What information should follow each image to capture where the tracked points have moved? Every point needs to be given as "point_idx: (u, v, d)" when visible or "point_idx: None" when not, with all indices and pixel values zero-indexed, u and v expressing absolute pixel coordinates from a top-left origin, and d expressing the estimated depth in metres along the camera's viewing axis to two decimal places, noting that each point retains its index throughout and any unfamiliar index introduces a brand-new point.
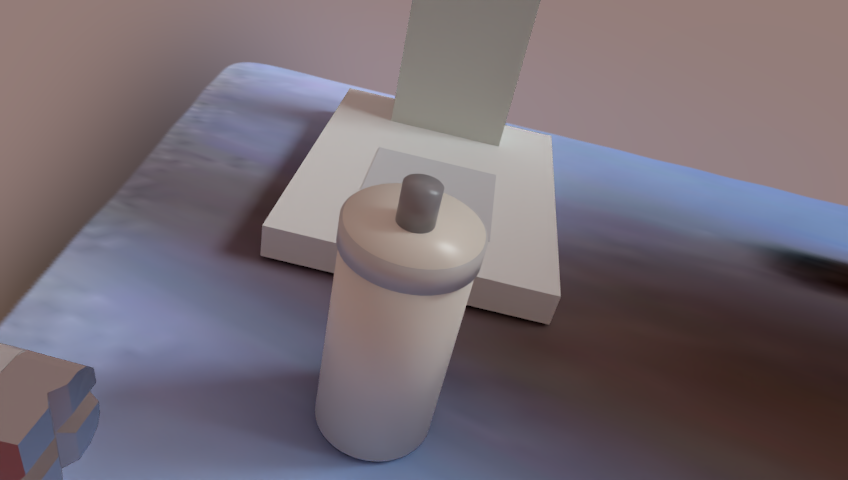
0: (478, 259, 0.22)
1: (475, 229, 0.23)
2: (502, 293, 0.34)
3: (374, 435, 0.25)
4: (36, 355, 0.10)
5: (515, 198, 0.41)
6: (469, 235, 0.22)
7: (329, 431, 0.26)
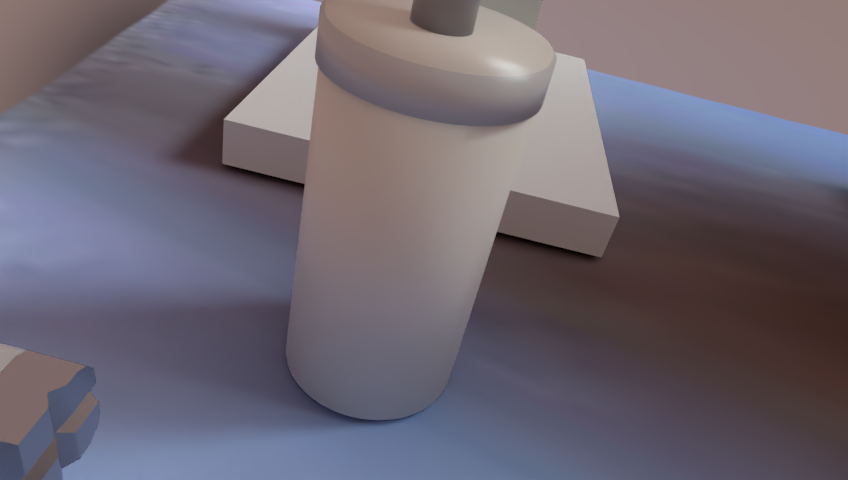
0: (545, 74, 0.13)
1: (535, 42, 0.14)
2: (541, 213, 0.26)
3: (372, 377, 0.17)
4: (36, 355, 0.10)
5: (549, 113, 0.33)
6: (527, 46, 0.14)
7: (305, 375, 0.18)
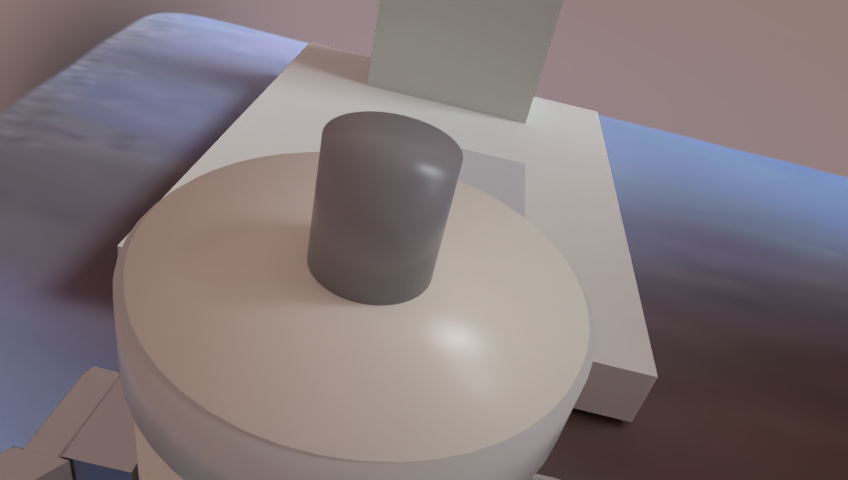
0: (577, 397, 0.06)
1: (554, 286, 0.08)
2: None
3: None
4: None
5: (558, 199, 0.26)
6: (537, 309, 0.07)
7: None
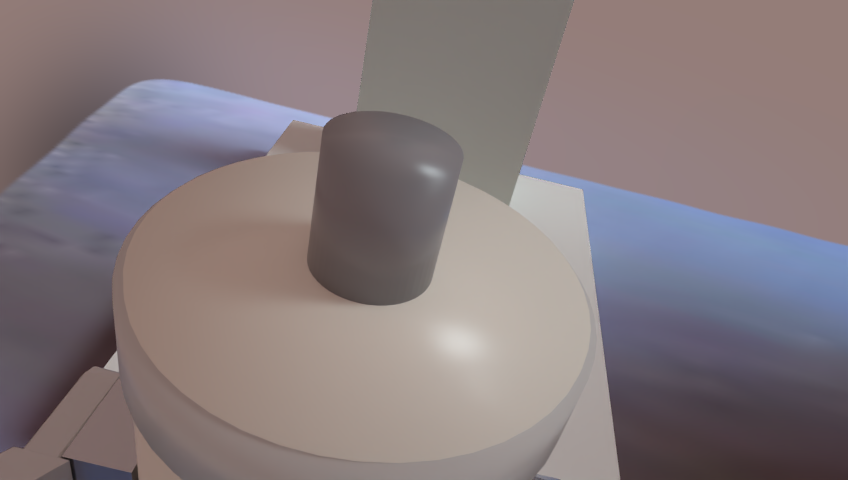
0: (578, 397, 0.06)
1: (554, 285, 0.08)
2: None
3: None
4: None
5: None
6: (538, 310, 0.07)
7: None
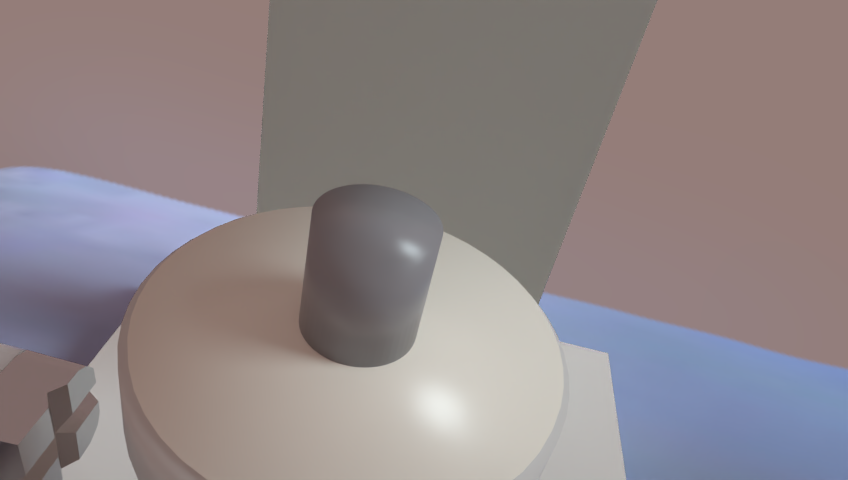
0: (549, 455, 0.07)
1: (531, 342, 0.08)
2: None
3: None
4: (36, 355, 0.10)
5: None
6: (515, 367, 0.08)
7: None
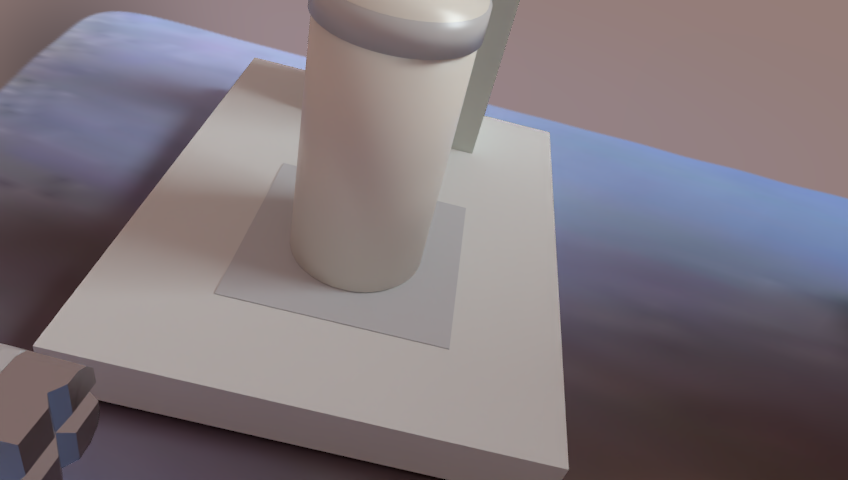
0: (481, 20, 0.18)
1: None
2: (467, 459, 0.20)
3: (357, 256, 0.22)
4: (36, 355, 0.10)
5: (495, 252, 0.26)
6: None
7: (305, 258, 0.23)
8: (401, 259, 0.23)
